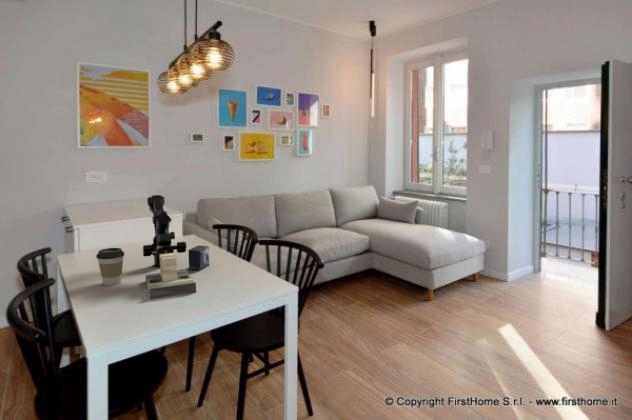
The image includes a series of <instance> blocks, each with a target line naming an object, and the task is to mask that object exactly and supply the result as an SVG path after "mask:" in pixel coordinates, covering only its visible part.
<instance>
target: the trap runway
mask: <svg viewBox="0 0 632 420" xmlns="http://www.w3.org/2000/svg"><path fill="white" fill-rule="evenodd" d="M145 283H146V284H145V285H146V286H147V287H146V288H147V292H148V295H149V296H148V297H149V299H150V300H151V299H159V298H166V297H171V296H179V295H185V294H187V295H188V294H193V293H197V282H196V281H194V280H193V278H192V277H191V275H190V273H189V270H187V269H183V270H177V280H171V281H162V278H161V274H160V272H157V273H150V274H149V273H148V274H145Z"/></svg>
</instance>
